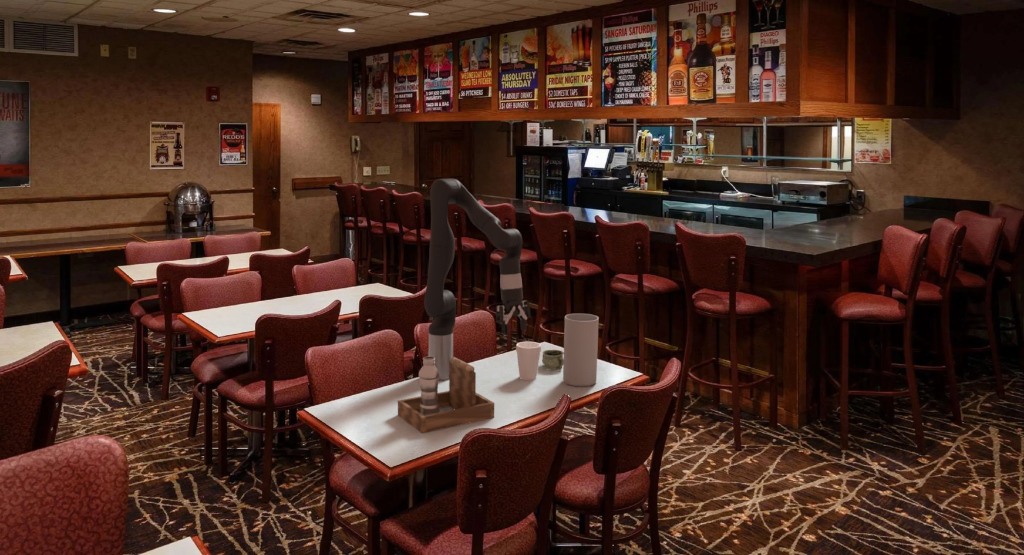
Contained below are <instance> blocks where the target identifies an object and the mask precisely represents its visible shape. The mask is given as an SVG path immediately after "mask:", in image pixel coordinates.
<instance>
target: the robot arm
mask: <svg viewBox="0 0 1024 555" xmlns="http://www.w3.org/2000/svg"><path fill="white" fill-rule="evenodd" d="M429 195H430V239H429V251H428V252H429V254H428V257H429V259H428V268H427V269H428V270H427V282H426V288H425V292H424V293H425V294H424V300H423V302H424V304H423V306H424V310H425V312H426V314H427V315H428V316H429V317H431V318H434V319H433V321H432V322H431V323H430V324H429V326H428V356H427V357H434V358H435V364H434V365H435V367H436V368H437V370H438V372H439V380H438V381H443V380H444V381H445V380H449V361H450V360H451V358H452V357H454V328H455V326H456V318H457V317H456V315H457V302H456V297H455V295H454V294H453V292H452V291H451V290H448V289H444V288H445V280H446V278H447V275H448V273H449V271H450V269H451V267H452V265H453V263H454V259H455V253H456V252H455V250H456V239H455V236H454V233H453V231H452V228H451V226H450V223H449V218H448V212H449V211H448V210H449V205H452V204H455V205H456V206H458V207H460V208H461V209H463V210H464V211H465V212H466V214H467V216H468V218H469V220H470V222H471V223H472V224H473V225H474V226H475V227H476V228H477V229H478V230H480V231H481V232H482V233H483V234H484V235H486V237H487V239H488V240H489V241H490V243H491V244H492V245H493V246H494V247H495V248H496V249H498V250H500V251H505V253H504V256H502V257H501V258H500V259H499V274H500V275H499V276H500V279H499V280H500V281H499V283H500V296H501V301H502V305H496V306H495V322H496V324H500V325H501V333H502V335H504V336H507V335H508V336H509V324H508V323H509V321H510V319H511V318H512V317H514V316H517V317H518V318H519V319H520V320H519V325H520V327H519V328H520V331H525V332H526V331H527V328H528V327H527V320H528V318H531V306H530V300H525V299H524V295H523V293H524V291H523V282H522V281H523V279H522V274H521V262H520V261H521V256H522V250H523V249H522V248H523V237H522V233H521V232H520V231H519V230H518V229H516V228H506V229H504V228H502V222H501V220H500V219H499V217H496V216H495V215H494V214H493V213H492V212H491V211H489V210H488V209H486V208H485V207H484V206H483V205H482V204H480V202H478V200H477V199H476V198H475V197H474V196H473V195H472V194H471V193H470V192H469V191H468V189H467V188H466V187H465V186H464V185H463V183H461V181H459V180H458V179H457V178H456V179H455V178H437V179H435V180H434V181H433V183H432V184H431V187H430V194H429ZM523 299H524V300H523Z"/></svg>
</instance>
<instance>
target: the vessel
mask: <svg viewBox="0 0 1024 555" xmlns="http://www.w3.org/2000/svg"><path fill="white" fill-rule="evenodd" d="M541 361H542V364H543V369H545V370H548V371H560V370H562V369H563V364H564V351H562V350H559V349H546V350H543V351H542V359H541Z"/></svg>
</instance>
